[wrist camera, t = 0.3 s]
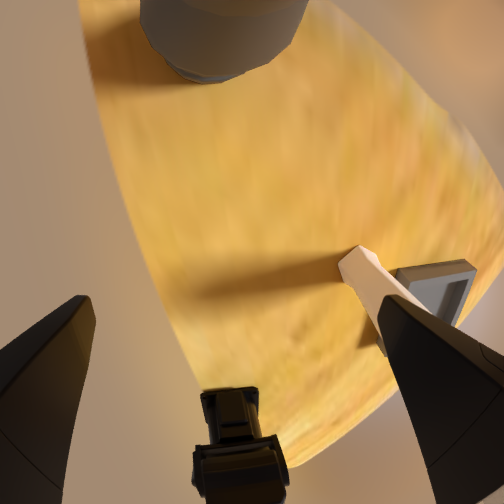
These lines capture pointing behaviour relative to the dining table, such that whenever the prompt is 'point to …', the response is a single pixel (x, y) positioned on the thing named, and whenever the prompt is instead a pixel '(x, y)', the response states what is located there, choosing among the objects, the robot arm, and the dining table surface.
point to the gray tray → (438, 288)
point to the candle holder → (219, 34)
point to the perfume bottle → (371, 281)
